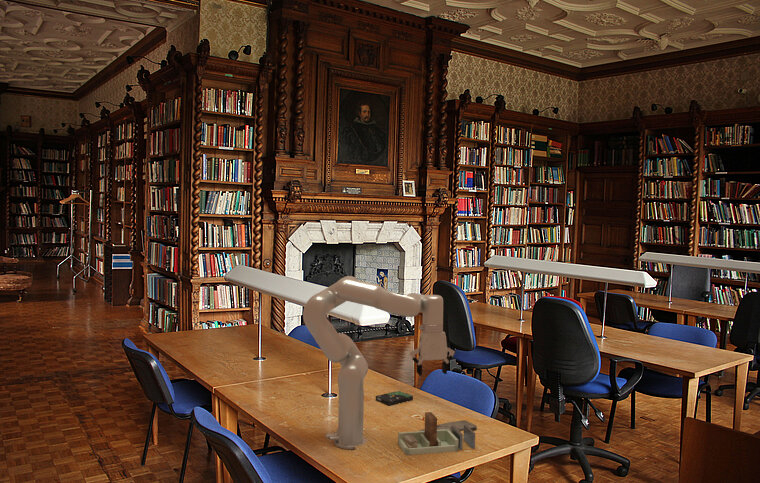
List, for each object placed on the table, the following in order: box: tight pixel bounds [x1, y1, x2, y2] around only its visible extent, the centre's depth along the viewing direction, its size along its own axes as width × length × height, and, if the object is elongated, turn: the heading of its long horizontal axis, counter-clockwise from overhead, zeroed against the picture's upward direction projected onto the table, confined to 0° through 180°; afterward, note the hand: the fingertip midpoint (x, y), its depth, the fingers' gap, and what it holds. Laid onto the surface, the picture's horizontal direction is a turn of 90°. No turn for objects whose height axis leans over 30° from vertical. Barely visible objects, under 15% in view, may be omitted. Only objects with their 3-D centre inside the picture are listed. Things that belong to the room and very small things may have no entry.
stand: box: [451, 425, 476, 451], centre depth 227 cm, size 6×9×7 cm, turn 14°
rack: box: [397, 429, 459, 456], centre depth 224 cm, size 20×11×5 cm, turn 104°
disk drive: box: [375, 390, 414, 407], centre depth 282 cm, size 10×3×15 cm
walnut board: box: [424, 411, 438, 447], centre depth 224 cm, size 2×7×12 cm, turn 14°
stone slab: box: [418, 419, 478, 432], centre depth 242 cm, size 10×3×30 cm
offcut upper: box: [404, 435, 418, 446], centre depth 222 cm, size 3×6×2 cm, turn 19°
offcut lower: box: [404, 440, 418, 448], centre depth 222 cm, size 3×7×2 cm, turn 14°
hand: (432, 374), depth 223 cm, fingers open, 9 cm apart
